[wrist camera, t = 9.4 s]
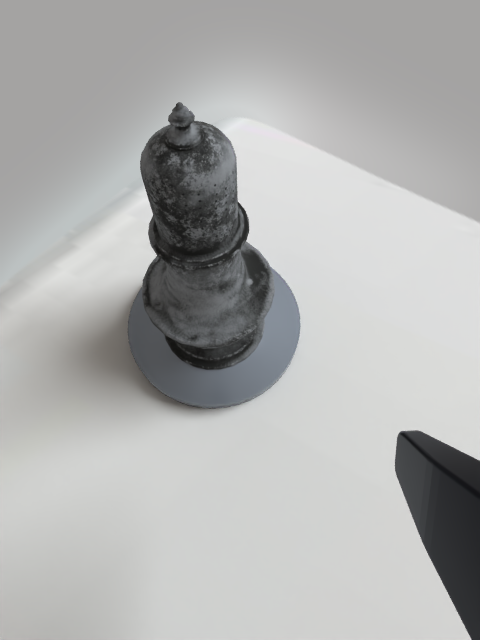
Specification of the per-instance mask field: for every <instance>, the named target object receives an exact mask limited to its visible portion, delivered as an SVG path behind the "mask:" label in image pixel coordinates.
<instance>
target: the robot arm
mask: <svg viewBox="0 0 480 640" xmlns="http://www.w3.org/2000/svg"><path fill="white" fill-rule="evenodd" d="M395 471H396V475H397V478H398V480H399V483H400V486H401V488H402V491H403V493H404V496H405V499H406V501H407V504H408V506H409V509H410V512H411V514H412V517H413V519H414V522H415V525H416V527H417V530H418V532H419V535H420V537H421V540H422V542H423V544H424V546H425V549H426V551H427V553H428V555H429V557H430V559H431V561H432V563H433V565H434V567H435V569H436V571H437V573H438V575H439V576H440V578H441V580H442V582H443V584H444V586H445V588H446V590H447V592H448V594H449V596H450V598H451V600H452V602H453V604H454V606H455V608H456V610H457V612H458V614H459V616H460V618H461V620H462V622H463V624H464V626H465V628H466V629H467V631H468V633H469V635H470V637H471V639H472V640H480V461H479V460H477V459H475V458H473V457H471V456H469V455H467V454H465V453H463V452H461V451H459V450H457V449H455V448H453V447H451V446H449V445H447V444H445V443H443V442H441V441H439V440H437V439H435V438H433V437H431V436H429V435H427V434H425V433H423V432H421V431H417V430H415V431H401V432H400V433H399V434H398V437H397V446H396V457H395Z"/></svg>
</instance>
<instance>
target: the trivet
mask: <svg viewBox="0 0 480 640" xmlns="http://www.w3.org/2000/svg"><path fill="white" fill-rule="evenodd" d="M270 268H271V267H270ZM271 271H272V273H273V276H274V287H275V293H274V297H273V301H272V305H271V308H270V310H269V311H268V313H267V315H266V317H265V318H264V319H265V328H264V332H263V336H262V339H261V341H260V343H259V344H258V346H257V348H256V350H255V351H254V352H253V353H252V354H251V355H250V356H249V357H247V358H246V359H245V360H243V361H241V362H240V363H238V364H236V365H234V366H231V367H227V368H224V369H215V370H206V369H201V368H197V367H193V366H191V365H189V364H187V363H185V362H184V361H182V360H181V359H179V358H178V357H177V356H176V355H175V354H174V353H173V352H172V350H171V349H170V347H169V345H168V343H167V342H166V339H165V335H164V334H163V333H162V332H161V331H160V330H159V329H158V328H157V327H156V326H155V325H154V324H153V323H152V322H151V320H150V318H149V316H148V314H147V313H146V311H145V309H144V304H143V299H142V288H141V290H140V291H139V293H138V294H137V296H136V298H135V300H134V302H133V305H132V308H131V311H130V316H129V321H128V337H129V344H130V348H131V352H132V354H133V356H134V359H135V361H136V363H137V364H138V366H139V368H140V369H141V371H142V372H143V374H144V375H145V377H146V378H147V379H148V380H149V381H150V382H151V384H152V385H153V386H155V387H156V388H157V389H158V390H159V391H160V392H162V393H163V394H165V395H167V396H168V397H170V398H172V399H174V400H176V401H178V402H180V403H184V404H187V405H190V406H195V407H201V408H223V407H230V406H234V405H239V404H241V403H244V402H247V401H250V400H252V399H253V398H255V397H257V396H259V395H261V394H262V393H264V392H265V391H267V390H268V389H269V388H271V387H272V386H273V385H274V384H275V383H276V382H277V381H278V380H279V379H280V378H281V376H282V375H283V374H284V373H285V371H286V370H287V368H288V366H289V365H290V363H291V361H292V358H293V356H294V354H295V350H296V347H297V343H298V339H299V334H300V315H299V309H298V305H297V302H296V299H295V297H294V295H293V293H292V291H291V289H290V287H289V286H288V285H287V283H286V282H285V280H284V279H283V278H282V277H281V276H280V275H279V274H278V273H277V272H276V271H275V270H274V269H272V268H271Z"/></svg>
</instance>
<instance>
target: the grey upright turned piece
mask: <svg viewBox="0 0 480 640" xmlns="http://www.w3.org/2000/svg"><path fill="white" fill-rule="evenodd" d="M194 117H195V116H194V114H193V113H192V112H191V111H189V110H188V108H187V107H186V106H183V104H182V103H180V102H179V103H177V104H176V107H175V108H174V109H173V110H172V113H171V114H170V115H169V118H168V121H169V122H170V125H168V126H166V127H163V128H162V129H160V130H159V131H157V132H156V133H155V134H154V135H153V136H152V137H151V138H150V139H149V141H148V143H147V144H146V146H145V148H144V150H143V152H142V154H141V161H140V165H141V166H140V168H141V174H142V179H143V182H144V185H145V189H146V192H147V195H148V199H149V202H150V205H151V209H152V212H153V217H152V219H151V221H150V224H149V231H148V235H149V239H150V244H151V246H152V248H153V249H154V251H155V253H156V254H157V257H156V258H155V259H154V260H153V262H152V263H151V264H150V266H149V267H148V270H147V272H146V274H145V277H144V279H143V286H142V299H143V304H144V309H145V311H146V313H147V314H148V316H149V318H150V320H151V322H152V323H153V324H154V325H155V326H156V327H157V328H158V329H159V330H160V331H161V332H162V333H163V334H164V335H165V339H166V342H167V343H168V345H169V347H170V349H171V350H172V352H173V353H174V354H175V355H176V356H177V357H178V358H179V359H181V360H182V361H184V362H185V363H187V364H189V365H191V366H193V367H197V368H201V369H206V370H215V369H224V368H227V367H231V366H234V365H236V364H238V363H240V362H241V361H243V360H245V359H246V358H247V357H249V356H250V355H251V354H252V353H253V352H254V351H255V350H256V348H257V346H258V344H259V343H260V341H261V339H262V336H263V332H264V328H265V319H264V318H265V317H266V315H267V313H268V311H269V310H270V308H271V305H272V301H273V297H274V293H275V287H274V276H273V273H272V271H271V268H270V266H269V263H268V262H267V260H266V259H265V258H264V257H263V255H262V254H261V253H260V252H259V251H258V250H257V249H256V248H254V247H253V246H252V245H250V244H249V243H247V242H246V240H247V236H248V233H249V219H248V217H247V214H246V211H245V210H244V208H243V207H242V206H241V205H240V203H239V202H238V200H237V165H236V155H235V152H234V149H233V146H232V144H231V141H230V140H229V139H228V138H227V137H226V136H225V135H224V134H223V133H222V132H221V131H220V130H219V129H217V128H216V127H214V126H213V125H210V124H207V123H204V122H199V121H194Z"/></svg>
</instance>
